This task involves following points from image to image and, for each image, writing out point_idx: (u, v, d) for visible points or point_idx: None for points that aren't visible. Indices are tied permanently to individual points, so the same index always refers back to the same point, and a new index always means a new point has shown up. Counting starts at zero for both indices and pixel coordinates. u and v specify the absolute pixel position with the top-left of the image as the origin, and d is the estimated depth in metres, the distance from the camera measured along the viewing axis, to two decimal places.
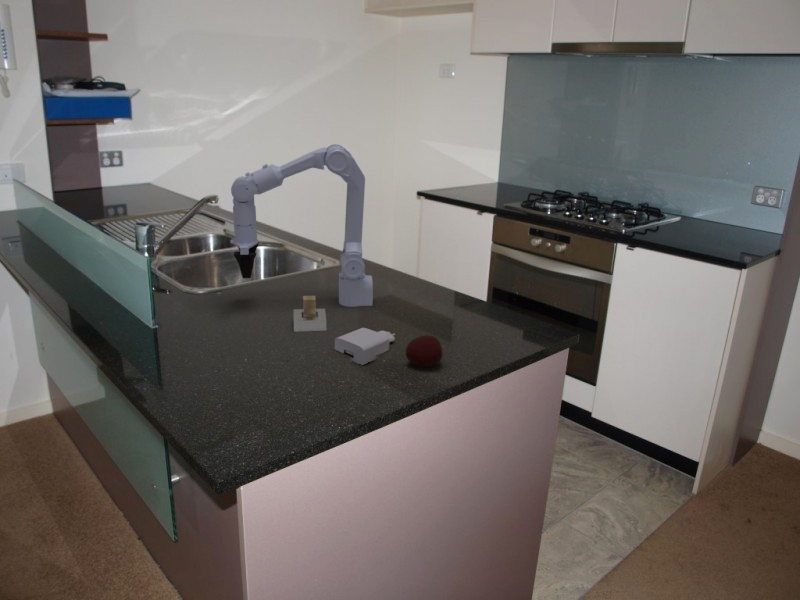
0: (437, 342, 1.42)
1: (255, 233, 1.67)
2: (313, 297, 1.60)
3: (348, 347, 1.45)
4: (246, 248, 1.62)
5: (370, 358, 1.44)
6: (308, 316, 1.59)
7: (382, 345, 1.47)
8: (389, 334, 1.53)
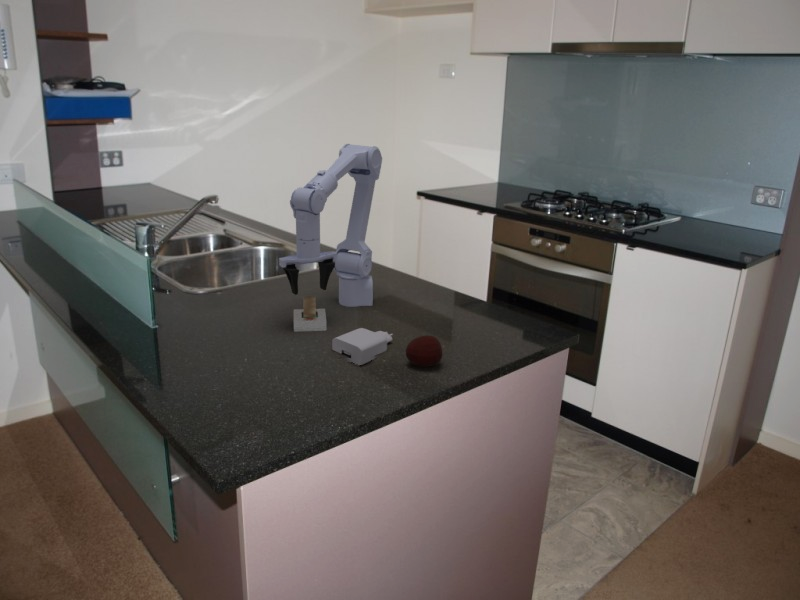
0: (437, 342, 1.42)
1: (308, 250, 1.52)
2: (313, 297, 1.60)
3: (345, 348, 1.45)
4: (281, 260, 1.52)
5: (368, 358, 1.44)
6: (308, 316, 1.59)
7: (380, 345, 1.46)
8: (387, 334, 1.53)
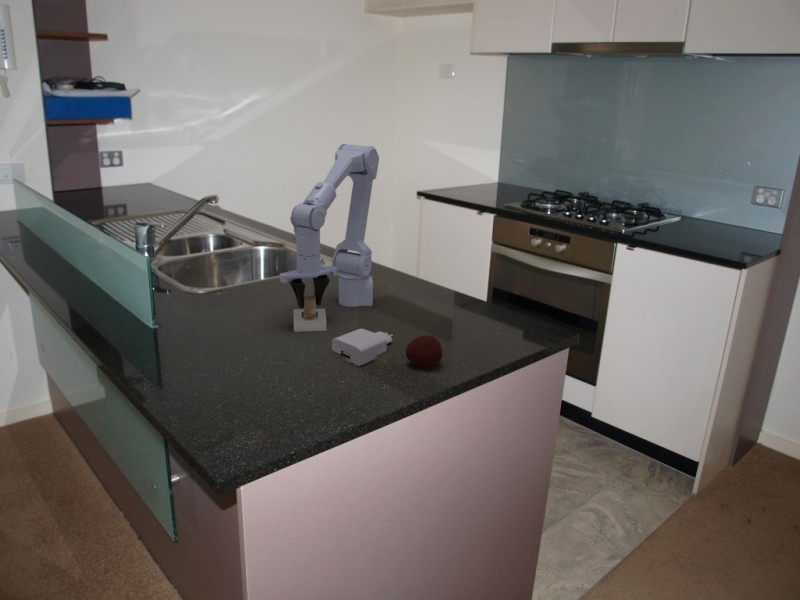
0: (437, 342, 1.42)
1: (308, 265, 1.54)
2: (313, 297, 1.60)
3: (345, 348, 1.44)
4: (282, 276, 1.53)
5: (367, 359, 1.44)
6: (308, 316, 1.59)
7: (379, 346, 1.46)
8: (387, 335, 1.52)
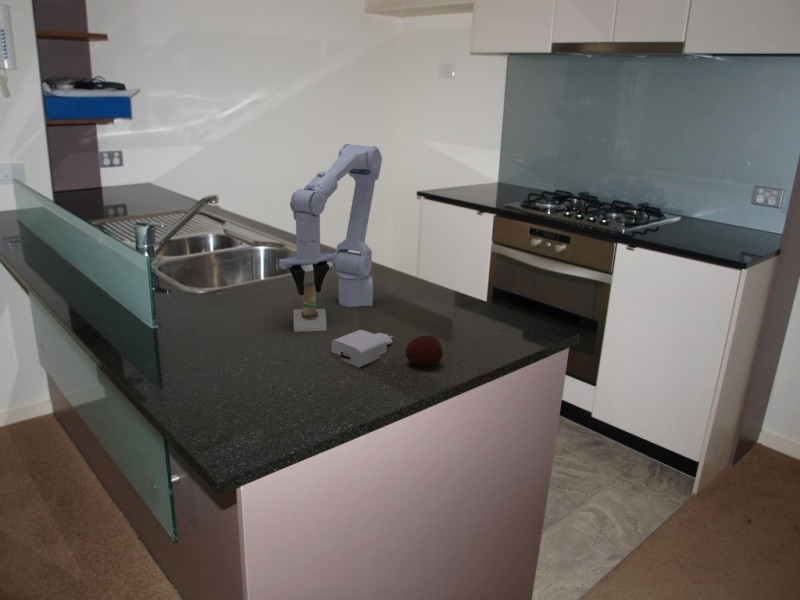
0: (437, 342, 1.42)
1: (308, 251, 1.52)
2: (313, 285, 1.59)
3: (344, 350, 1.44)
4: (281, 262, 1.52)
5: (367, 360, 1.43)
6: (308, 304, 1.58)
7: (379, 347, 1.45)
8: (386, 336, 1.52)
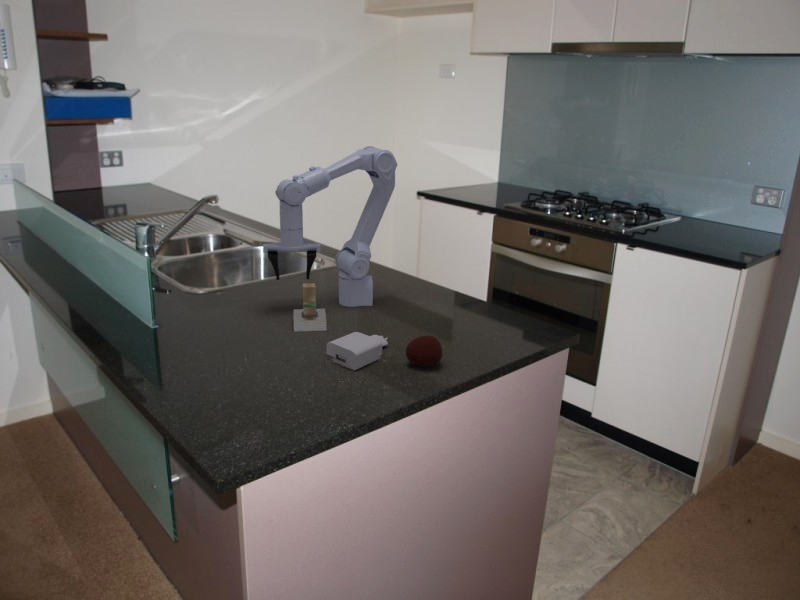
0: (437, 342, 1.42)
1: (287, 239, 1.61)
2: (313, 285, 1.59)
3: (340, 352, 1.42)
4: (263, 246, 1.63)
5: (363, 363, 1.42)
6: (308, 304, 1.58)
7: (375, 349, 1.44)
8: (382, 338, 1.50)
